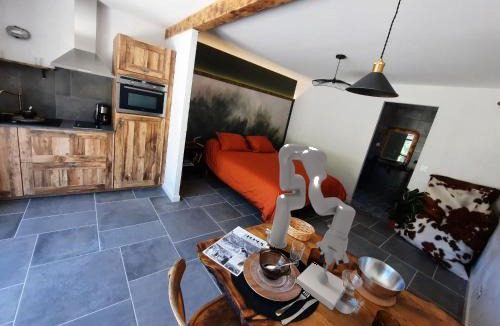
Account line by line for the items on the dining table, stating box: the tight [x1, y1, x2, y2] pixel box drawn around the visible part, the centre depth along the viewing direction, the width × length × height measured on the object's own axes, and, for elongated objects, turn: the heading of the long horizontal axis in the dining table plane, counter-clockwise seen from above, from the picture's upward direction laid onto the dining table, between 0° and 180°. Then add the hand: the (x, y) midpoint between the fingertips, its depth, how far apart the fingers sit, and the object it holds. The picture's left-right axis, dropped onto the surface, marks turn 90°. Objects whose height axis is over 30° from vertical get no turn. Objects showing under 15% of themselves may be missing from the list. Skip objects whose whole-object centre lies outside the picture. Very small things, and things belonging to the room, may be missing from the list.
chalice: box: [318, 247, 337, 283], centre depth 100 cm, size 7×7×18 cm
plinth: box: [295, 262, 346, 311], centre depth 103 cm, size 18×18×3 cm
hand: (327, 265), depth 101 cm, fingers closed on chalice, 5 cm apart
